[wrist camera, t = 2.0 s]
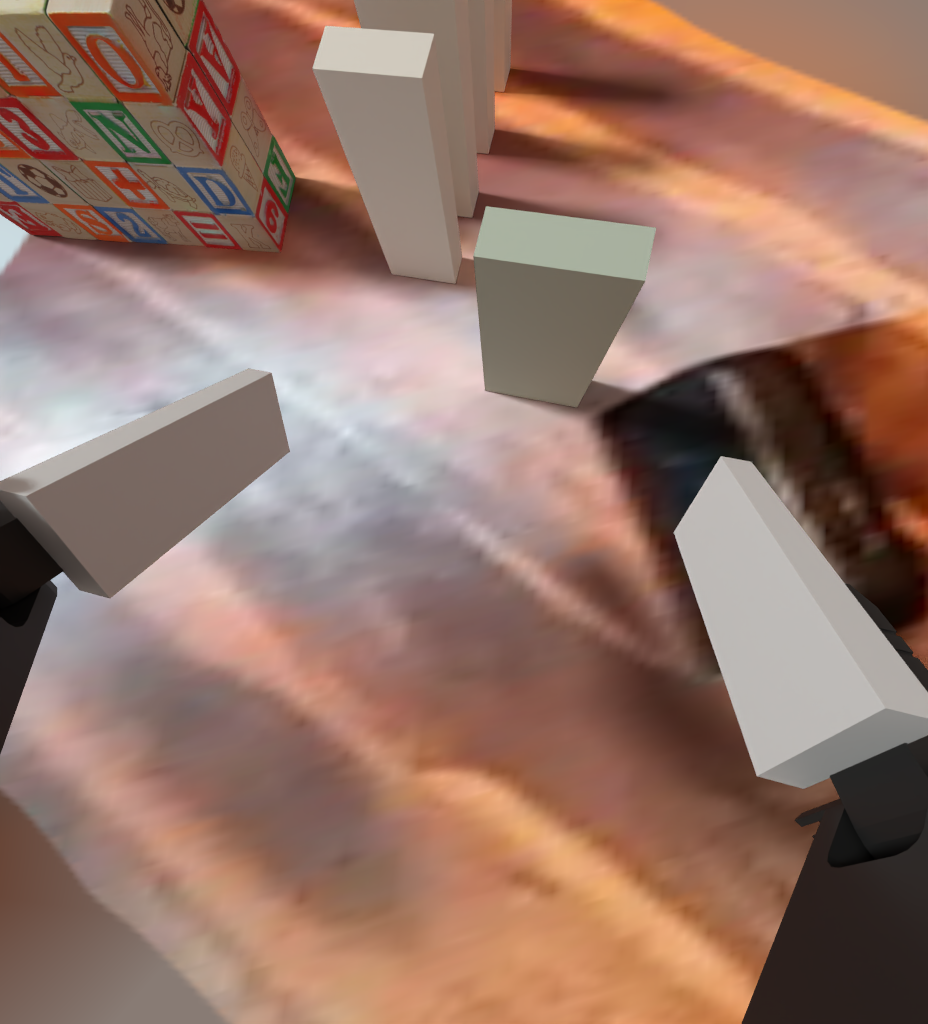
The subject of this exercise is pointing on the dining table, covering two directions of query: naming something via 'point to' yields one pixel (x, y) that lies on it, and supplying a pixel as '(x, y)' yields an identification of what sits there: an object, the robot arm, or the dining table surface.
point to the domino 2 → (395, 143)
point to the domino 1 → (441, 76)
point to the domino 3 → (482, 70)
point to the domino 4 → (502, 43)
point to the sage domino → (553, 298)
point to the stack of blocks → (134, 128)
